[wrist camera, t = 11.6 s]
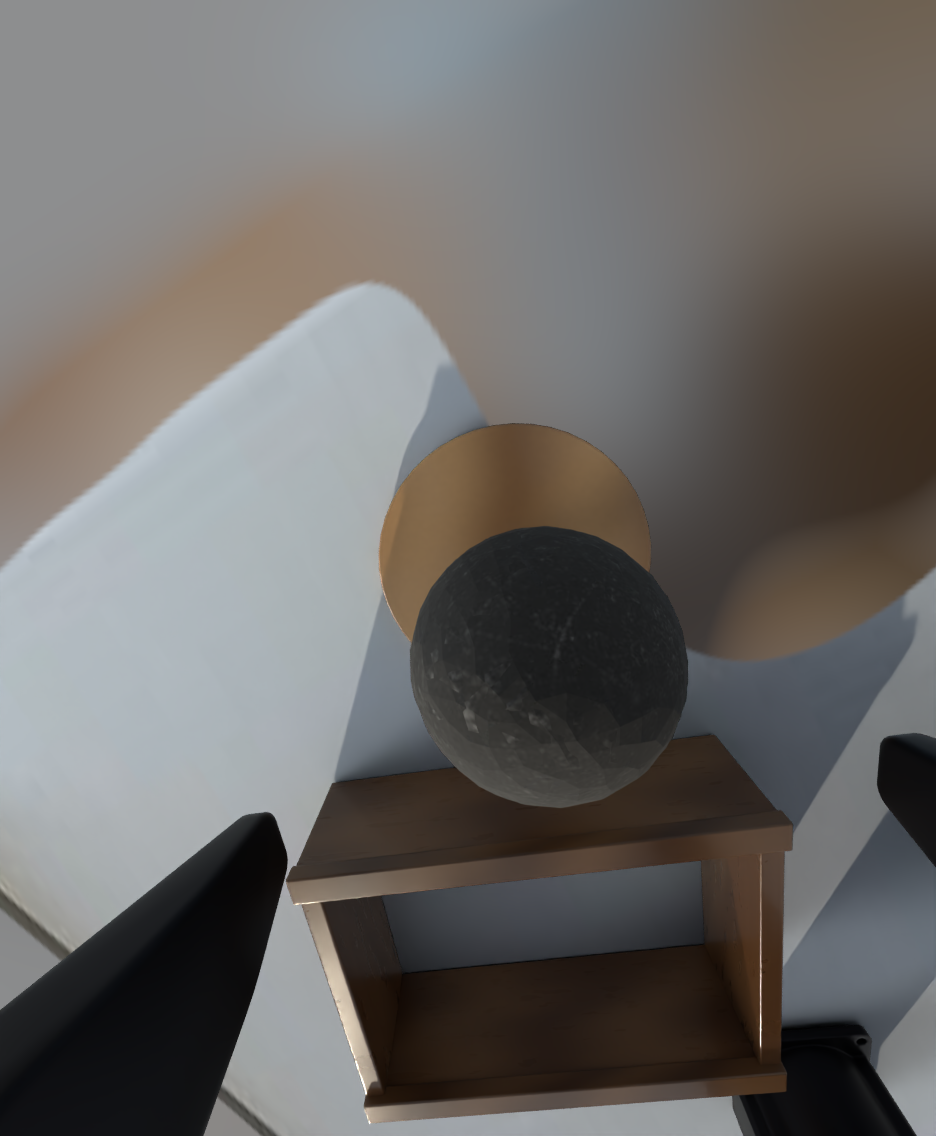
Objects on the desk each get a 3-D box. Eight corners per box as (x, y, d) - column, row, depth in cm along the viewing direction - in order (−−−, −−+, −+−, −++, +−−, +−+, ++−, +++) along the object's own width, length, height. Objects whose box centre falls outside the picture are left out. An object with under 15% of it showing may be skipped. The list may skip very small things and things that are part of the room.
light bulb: (446, 644, 17) (405, 894, 8) (432, 498, 16) (360, 578, 6) (592, 636, 17) (741, 882, 7) (592, 487, 16) (777, 552, 6)
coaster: (636, 400, 15) (642, 398, 15) (653, 661, 18) (659, 669, 17) (354, 450, 16) (350, 450, 15) (410, 695, 19) (408, 703, 18)
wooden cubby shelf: (715, 730, 19) (794, 823, 14) (722, 956, 22) (787, 1092, 17) (329, 779, 20) (284, 881, 15) (390, 988, 23) (368, 1124, 18)
